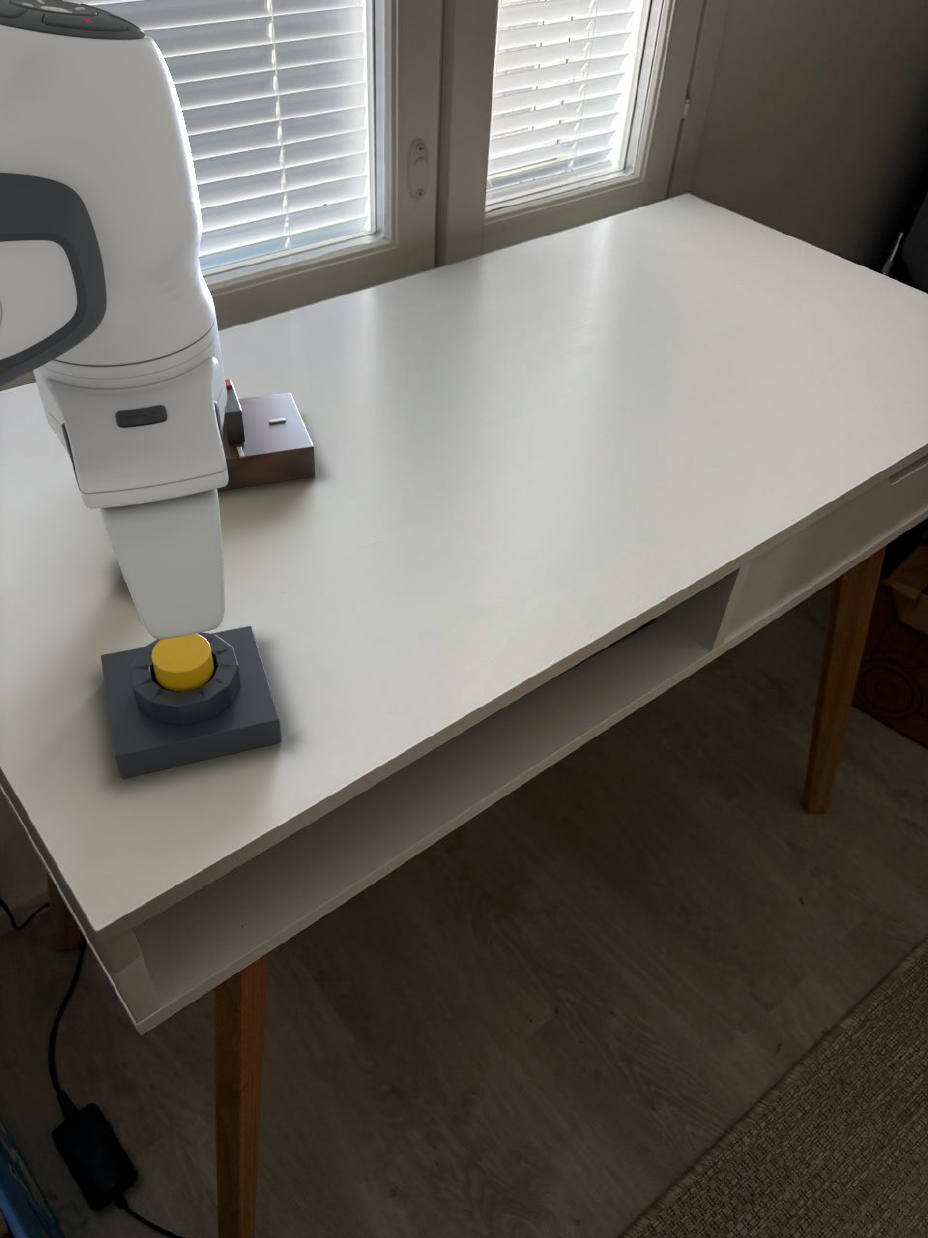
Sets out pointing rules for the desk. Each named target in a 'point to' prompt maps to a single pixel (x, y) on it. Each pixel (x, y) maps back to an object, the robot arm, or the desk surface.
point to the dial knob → (233, 416)
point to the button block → (189, 707)
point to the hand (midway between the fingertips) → (177, 586)
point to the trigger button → (183, 662)
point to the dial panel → (269, 444)
